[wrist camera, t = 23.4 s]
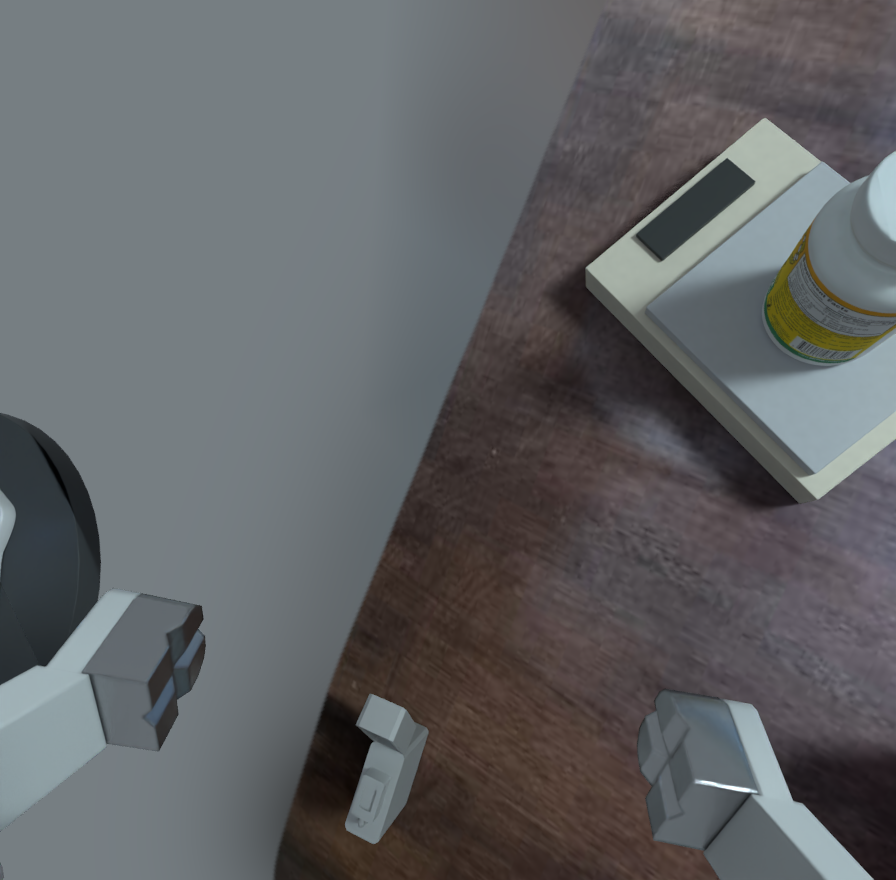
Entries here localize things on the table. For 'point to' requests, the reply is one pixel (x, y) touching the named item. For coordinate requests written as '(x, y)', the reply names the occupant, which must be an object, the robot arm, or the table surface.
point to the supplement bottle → (840, 277)
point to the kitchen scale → (748, 313)
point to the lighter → (385, 767)
